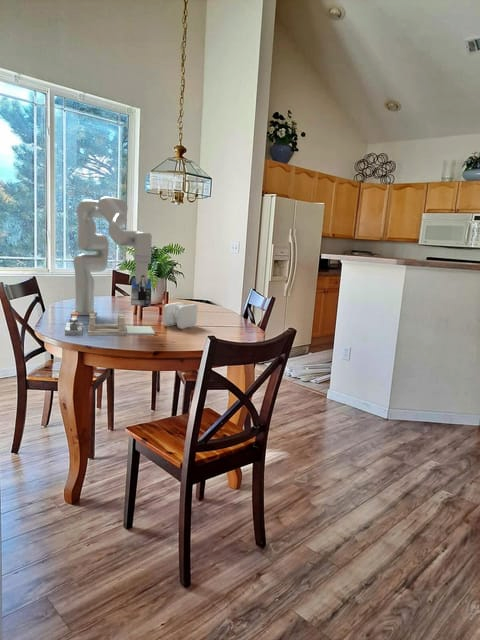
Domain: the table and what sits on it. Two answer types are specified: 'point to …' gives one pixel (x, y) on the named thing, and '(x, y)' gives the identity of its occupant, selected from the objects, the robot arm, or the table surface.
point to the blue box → (135, 294)
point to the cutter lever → (74, 318)
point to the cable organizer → (180, 315)
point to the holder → (106, 327)
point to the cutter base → (73, 329)
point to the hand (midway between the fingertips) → (141, 298)
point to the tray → (139, 330)
